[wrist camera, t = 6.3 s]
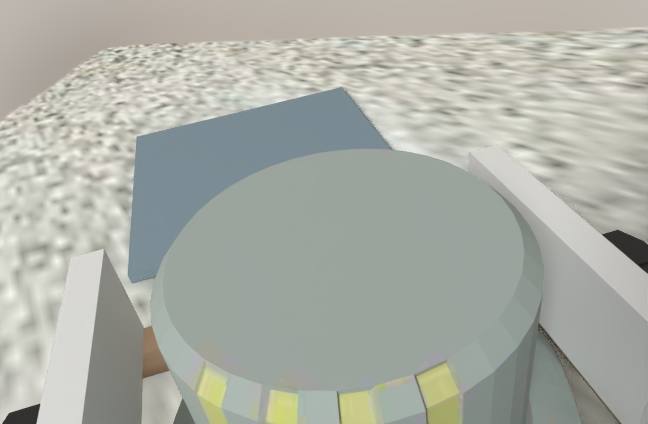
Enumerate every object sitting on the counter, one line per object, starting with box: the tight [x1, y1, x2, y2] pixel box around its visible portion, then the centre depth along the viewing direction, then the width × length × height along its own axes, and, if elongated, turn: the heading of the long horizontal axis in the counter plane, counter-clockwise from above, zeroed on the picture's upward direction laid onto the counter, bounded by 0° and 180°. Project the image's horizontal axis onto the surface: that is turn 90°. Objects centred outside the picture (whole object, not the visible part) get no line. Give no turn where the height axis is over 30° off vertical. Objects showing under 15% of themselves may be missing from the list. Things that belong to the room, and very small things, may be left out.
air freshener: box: [150, 149, 582, 424], centre depth 11 cm, size 11×8×10 cm
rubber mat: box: [128, 87, 392, 283], centre depth 30 cm, size 14×14×1 cm
